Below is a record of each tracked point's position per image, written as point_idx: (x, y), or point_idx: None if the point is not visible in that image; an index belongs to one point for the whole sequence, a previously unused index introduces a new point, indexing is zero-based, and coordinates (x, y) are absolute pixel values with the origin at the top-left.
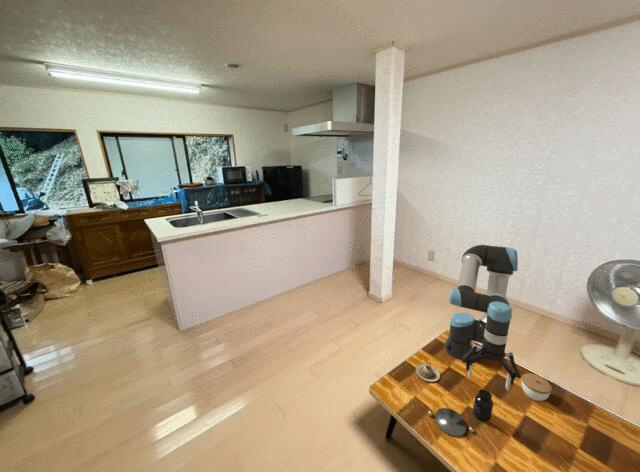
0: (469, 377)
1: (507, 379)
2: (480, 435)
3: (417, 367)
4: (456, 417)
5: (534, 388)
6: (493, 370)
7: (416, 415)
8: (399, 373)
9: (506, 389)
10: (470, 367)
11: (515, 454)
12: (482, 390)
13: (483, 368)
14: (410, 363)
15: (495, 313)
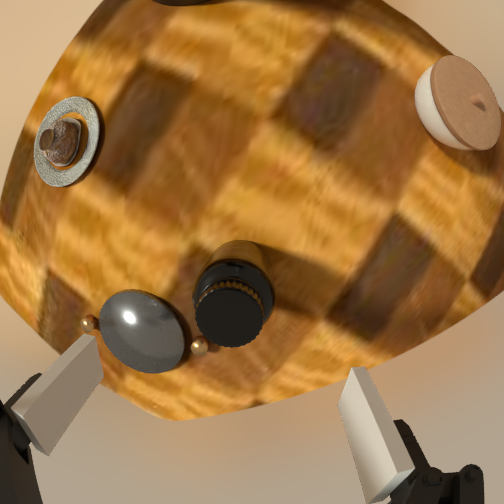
0: (95, 381)
1: (366, 448)
2: (226, 348)
3: (38, 136)
4: (153, 320)
5: (465, 136)
6: (322, 18)
7: (67, 331)
8: (7, 193)
9: (339, 409)
10: (47, 443)
11: (313, 368)
12: (215, 301)
13: (284, 16)
14: (27, 127)
15: None
